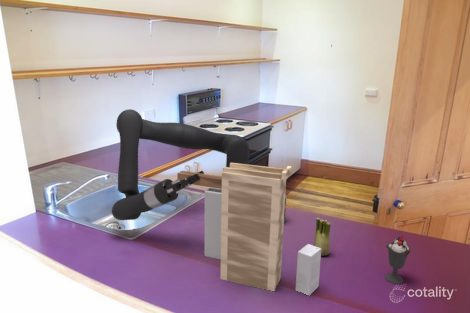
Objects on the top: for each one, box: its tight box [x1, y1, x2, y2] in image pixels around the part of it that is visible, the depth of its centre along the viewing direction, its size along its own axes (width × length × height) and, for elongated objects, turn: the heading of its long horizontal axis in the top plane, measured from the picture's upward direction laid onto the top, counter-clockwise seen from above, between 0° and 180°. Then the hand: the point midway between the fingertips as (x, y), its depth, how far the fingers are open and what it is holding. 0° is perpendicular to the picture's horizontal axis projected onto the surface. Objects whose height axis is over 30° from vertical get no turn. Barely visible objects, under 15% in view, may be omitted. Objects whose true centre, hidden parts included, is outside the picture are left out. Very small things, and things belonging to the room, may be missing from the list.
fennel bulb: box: [314, 217, 332, 257], centre depth 117 cm, size 6×5×12 cm
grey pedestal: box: [204, 187, 222, 261], centre depth 113 cm, size 5×8×22 cm, turn 69°
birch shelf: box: [220, 163, 293, 292], centre depth 98 cm, size 7×17×34 cm, turn 69°
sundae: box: [384, 234, 412, 285], centre depth 102 cm, size 7×7×15 cm
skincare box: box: [295, 243, 322, 296], centre depth 97 cm, size 6×4×12 cm
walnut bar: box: [176, 170, 222, 189], centre depth 110 cm, size 3×26×3 cm, turn 69°
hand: (200, 175), depth 112 cm, fingers closed on walnut bar, 3 cm apart
